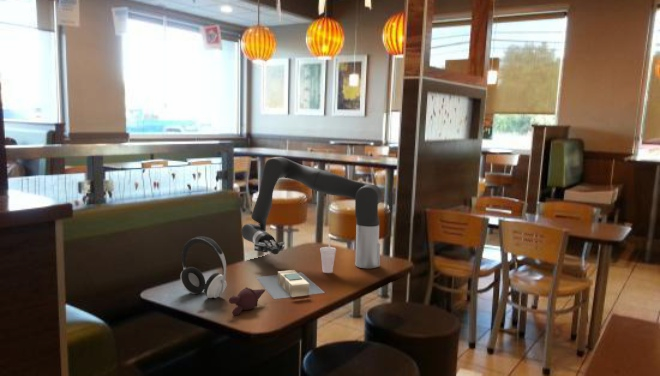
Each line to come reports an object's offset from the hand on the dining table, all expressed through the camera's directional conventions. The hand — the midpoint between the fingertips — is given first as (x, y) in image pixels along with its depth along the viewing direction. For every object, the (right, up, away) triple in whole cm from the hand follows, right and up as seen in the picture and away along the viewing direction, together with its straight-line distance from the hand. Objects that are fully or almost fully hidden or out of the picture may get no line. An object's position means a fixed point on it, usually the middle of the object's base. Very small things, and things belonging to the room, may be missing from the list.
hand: (276, 251), depth 188 cm
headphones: (-22, -12, -24) cm, 34 cm away
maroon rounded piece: (-5, -14, -34) cm, 37 cm away
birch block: (+5, -8, -10) cm, 13 cm away
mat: (+6, -11, -13) cm, 18 cm away
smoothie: (+20, -9, +3) cm, 22 cm away
